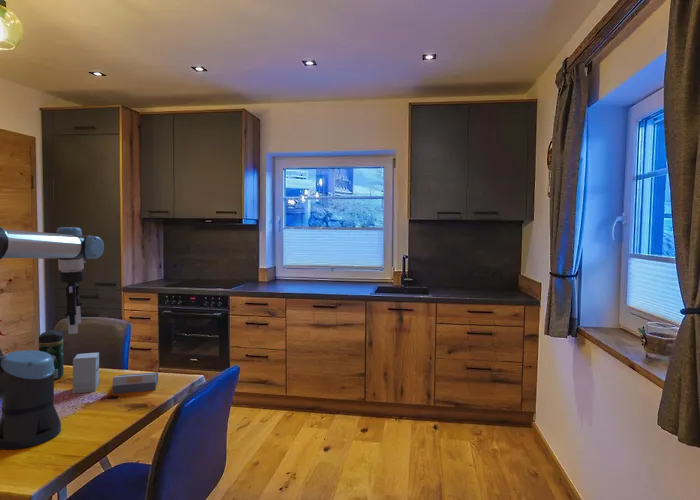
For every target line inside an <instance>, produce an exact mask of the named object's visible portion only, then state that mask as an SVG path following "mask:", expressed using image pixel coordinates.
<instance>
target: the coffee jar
mask: <svg viewBox="0 0 700 500" xmlns="http://www.w3.org/2000/svg"><path fill="white" fill-rule="evenodd" d="M38 351H42V352H46V353H48V354H50V355H51V356H52V357H53V362H54V367H55V368H54V369H55V371H54V380H57V379H61V378H62V377H63V375H64V332H63V331H61V330H59V329H51V330H50V329H49V330H46V331H45V332H42V333H40V335H39V336H38Z"/></svg>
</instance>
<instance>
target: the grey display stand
mask: <svg viewBox="0 0 700 500" xmlns="http://www.w3.org/2000/svg"><path fill="white" fill-rule="evenodd" d="M158 382H159V372H158V371H155V372H154V371H153V372H145V373H131V374H118V375H117V376H112V395H118V394H128V393H138V392H139V393H140V392H149V391H156V390H157V385H158Z"/></svg>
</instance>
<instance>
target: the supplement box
mask: <svg viewBox="0 0 700 500" xmlns="http://www.w3.org/2000/svg"><path fill="white" fill-rule="evenodd" d="M99 383H100V352H89V353H88V352H87V353H77V354H76V355H75V357H74V358H73V359H72V394H80V393H81V394H82V393H90V392H91V393H93V392H96V391H97V388H98V387H99V385H100V384H99Z"/></svg>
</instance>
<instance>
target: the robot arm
mask: <svg viewBox="0 0 700 500" xmlns="http://www.w3.org/2000/svg"><path fill="white" fill-rule="evenodd" d="M104 248H105V244H104V240H102V238H101V237H99V236H96V235H83V232H82V228H80V227H78V226H75V227H74V226H70V227H68V226H64V227H63V226H62V227H57V229H56V233H55V232H54V233H53V232H40V231H39V232H38V231H31V230H28V231H27V230H18V229H16V230H14V229H5V228H3V227H2V226H0V261H1V260H3V259H35V260H37V259H38V260H42V259H57V261H58V270H59V273H58V276H59V277H58V279H59V282H60V283H61V284H62V283H63V284H65V283H67V286H66V287H65V292H66V293H65V294H66V295H65V297H66V313H64V317H67V329H68V330H67V331H68V333H67V334H68V335H72V334H73V335H74V334H79V328H78V327H79V326H78V324H81V323H82V321H81V320H82V319H81V317H82V316H81V315H82V314H81V306H83V303H82V302H81V300H80V299H81V297H80V287H81V286H80V285H79V283H80V282H83V281H84V280H85V271H84V268H85V266H84V264H85V263H86V260H85V259H87V260H92V259H95V260H96V259H99V258H100V257H102V255H103V254H104V250H105V249H104ZM54 368H55V367H54V362H53V357H52V356H51V355H50V354H48V353H46V352H42V351H39V350H35V349H33V350H32V349H31V350H17V351H12V352H9V353H6V354H5V355H4V353H3V350H2V349H1V348H0V400H1V415H0V450H17V449H19V450H20V449H24V448H30V447H34V446H37V445H41V444H43V443H45V442H48V441H50V440H51V439H52V440H53V439H54V438H56V436H58V435H59V434H60V433H61V430H62V421H61V419H60V417H59V414H58V412H57V410H56V407H55V404H54V402H55V401H54V398H55V396H54V395H55V379H54V371H55V369H54Z"/></svg>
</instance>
